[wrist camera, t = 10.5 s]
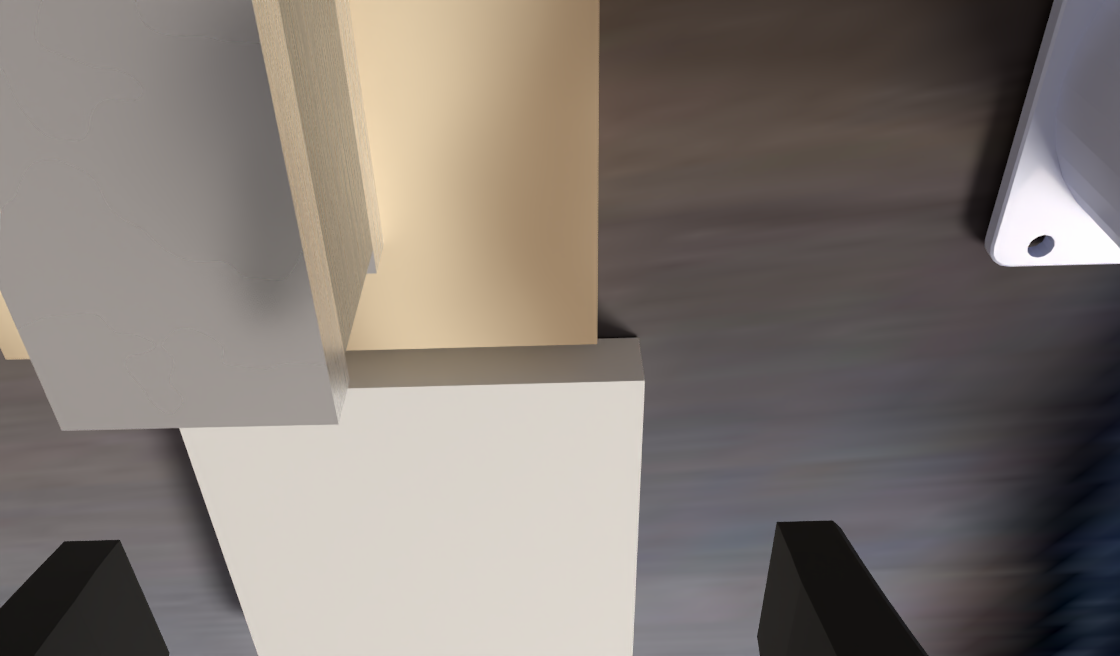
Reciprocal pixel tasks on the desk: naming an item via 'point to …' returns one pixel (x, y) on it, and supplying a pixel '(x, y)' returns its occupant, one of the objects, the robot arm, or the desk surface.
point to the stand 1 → (475, 174)
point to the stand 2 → (441, 507)
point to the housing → (185, 207)
